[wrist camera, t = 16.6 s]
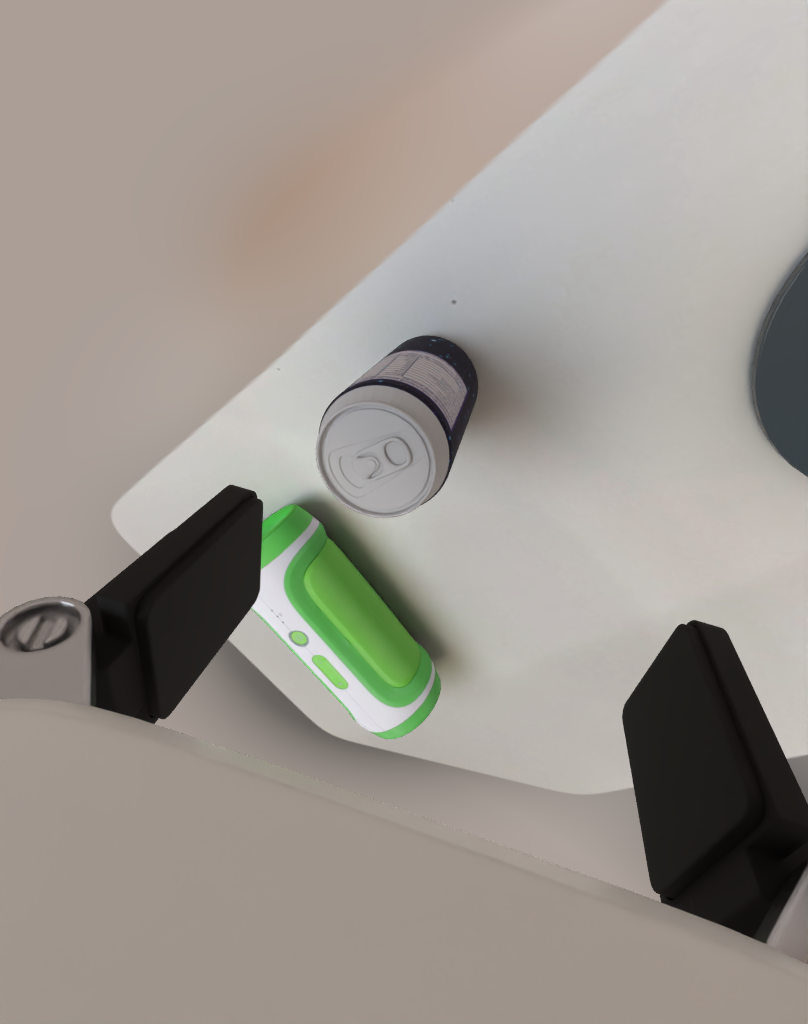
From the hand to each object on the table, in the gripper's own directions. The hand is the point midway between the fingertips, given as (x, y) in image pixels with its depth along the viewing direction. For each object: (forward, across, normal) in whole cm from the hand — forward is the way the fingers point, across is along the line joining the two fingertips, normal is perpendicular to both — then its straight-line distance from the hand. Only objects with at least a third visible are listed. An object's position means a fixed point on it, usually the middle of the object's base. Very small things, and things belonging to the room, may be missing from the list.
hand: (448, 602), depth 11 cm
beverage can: (+20, +4, +1) cm, 21 cm away
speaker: (+20, +6, +19) cm, 29 cm away
